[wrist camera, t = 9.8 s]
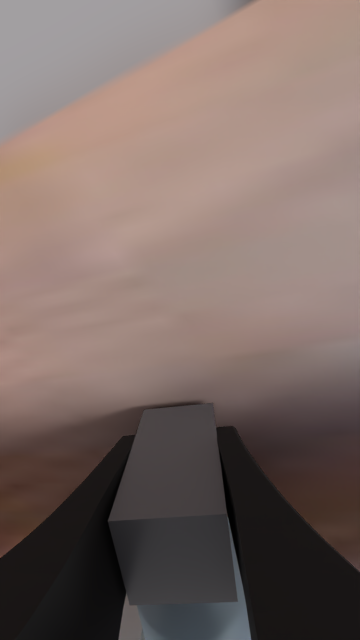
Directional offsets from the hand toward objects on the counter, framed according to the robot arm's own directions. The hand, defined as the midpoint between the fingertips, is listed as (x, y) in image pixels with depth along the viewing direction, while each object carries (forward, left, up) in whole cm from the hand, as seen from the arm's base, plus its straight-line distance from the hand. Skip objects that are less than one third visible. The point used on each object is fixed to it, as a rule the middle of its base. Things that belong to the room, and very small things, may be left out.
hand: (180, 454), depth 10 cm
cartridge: (0, +5, -1) cm, 5 cm away
